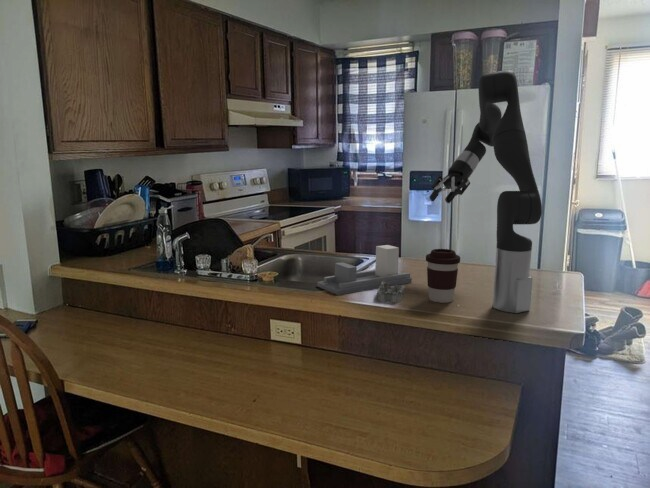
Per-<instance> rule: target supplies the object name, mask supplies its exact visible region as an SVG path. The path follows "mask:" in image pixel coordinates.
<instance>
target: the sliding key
mask: <svg viewBox="0 0 650 488" xmlns="http://www.w3.org/2000/svg"><path fill="white" fill-rule="evenodd" d="M399 251H400V248H399V246H398V247H397V246H393V245H390V244H385V245H376V246H375V270H376V271H375V275H377V276H380V277H382V276H388V275H395V274H399V258H400V256H399V253H400V252H399Z"/></svg>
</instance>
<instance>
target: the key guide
mask: <svg viewBox="0 0 650 488" xmlns="http://www.w3.org/2000/svg"><path fill="white" fill-rule="evenodd" d="M375 271H376V269H371V270H364V271H358V272H357V273H356V281H352V282H344V283H338V282H336V281H335V275H331V276H330V275H329V276H324V277H323V280H321V281H317V282H316V283H317V287H318V288H320V289H322V290H325V291H327V292H329V293H331V294H334V295H336V296H341V295H346V294H352V293H357V292H363V291H369V290H375V289H379V287H380V285H381V282H382V281H383V280H384V282H385V283H389V284H390V287H394V285H396V286H400V285H404V284H410V283H412V280H413V279H412V277H411V273H410V272H403V273H398V274H395V275H388V276H382V277H380V276H377V275H375Z"/></svg>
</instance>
